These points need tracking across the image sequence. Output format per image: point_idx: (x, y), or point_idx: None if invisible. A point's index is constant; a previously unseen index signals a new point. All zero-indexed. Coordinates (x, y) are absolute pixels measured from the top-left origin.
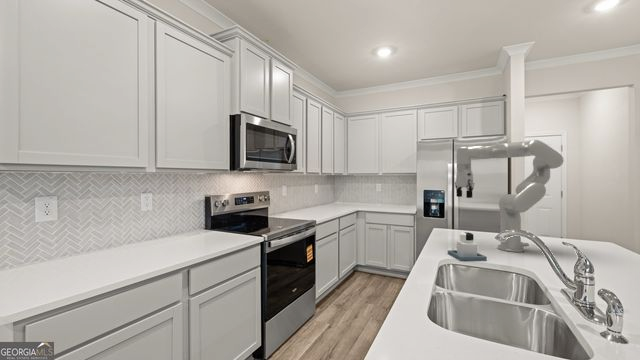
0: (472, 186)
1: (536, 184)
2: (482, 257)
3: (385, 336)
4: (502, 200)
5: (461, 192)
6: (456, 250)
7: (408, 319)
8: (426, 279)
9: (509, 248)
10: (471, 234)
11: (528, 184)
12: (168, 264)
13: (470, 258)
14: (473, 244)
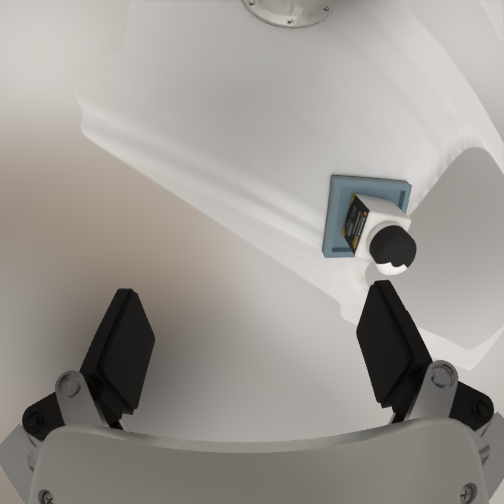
0: (485, 421)
1: None
2: (408, 197)
3: (467, 367)
4: None
5: (118, 342)
6: (333, 233)
7: (465, 357)
8: (427, 336)
9: (316, 9)
10: (415, 250)
11: None
12: None
13: None
14: (407, 230)
